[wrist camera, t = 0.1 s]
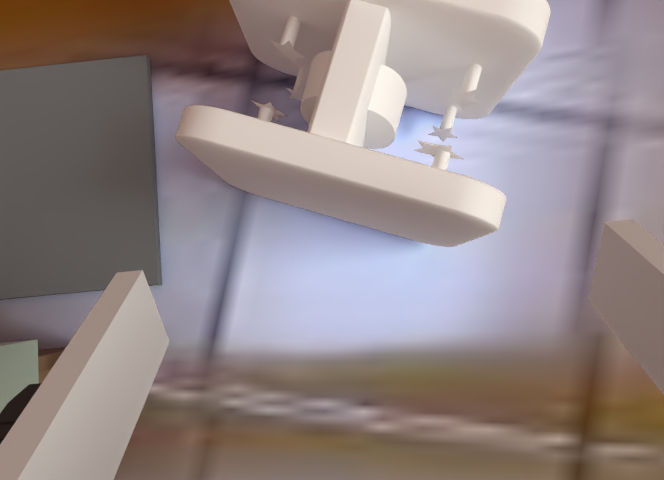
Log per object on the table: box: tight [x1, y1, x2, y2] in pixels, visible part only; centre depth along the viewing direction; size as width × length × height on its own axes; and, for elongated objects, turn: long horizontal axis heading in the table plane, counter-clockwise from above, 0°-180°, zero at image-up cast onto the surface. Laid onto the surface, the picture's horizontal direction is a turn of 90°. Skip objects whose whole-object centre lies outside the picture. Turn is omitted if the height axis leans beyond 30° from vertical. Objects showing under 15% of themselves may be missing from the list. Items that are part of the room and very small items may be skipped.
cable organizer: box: [175, 0, 550, 247], centre depth 24 cm, size 15×11×12 cm
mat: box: [0, 55, 162, 299], centre depth 30 cm, size 15×20×1 cm
